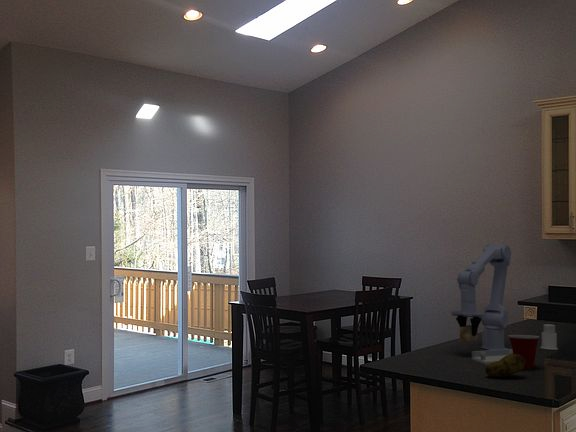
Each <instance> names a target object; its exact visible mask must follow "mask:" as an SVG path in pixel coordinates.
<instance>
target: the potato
mask: <svg viewBox="0 0 576 432" xmlns="http://www.w3.org/2000/svg"><path fill="white" fill-rule="evenodd" d="M525 363H526V361H525V359H524V358H523V357H522V356H521V355H518V354H510V355H507V356H505V357H503V358H502V359H500V360H499V361H496V362H493V363H491V364H488V365H486V366H485V374H486V375H487V376H488V377H490V378H506V377H510V376H512V375H515V374H518V373H520V372H524V371H525V370H524V367H525Z"/></svg>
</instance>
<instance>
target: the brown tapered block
mask: <svg viewBox="0 0 576 432" xmlns="http://www.w3.org/2000/svg"><path fill="white" fill-rule="evenodd" d="M478 329H479V328H478ZM478 329H477V334H476V336H472V325H471V324H468V325H467V324H466V326H463V327H460V326H459V342H464V343H471V342H474V341H477V340H479V338H478V337H479V336H478V335H479V331H478Z"/></svg>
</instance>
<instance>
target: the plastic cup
mask: <svg viewBox="0 0 576 432" xmlns="http://www.w3.org/2000/svg"><path fill="white" fill-rule="evenodd" d="M507 338H509V341H510V346H511V349H512V351H513V354H518V355H521V356H522V357H523V358H524V359H525V361H526V363H525V367H524V371H527V370H529V371H530V370H534V367H535V359H536V353H537V348H538V343H539V339H540V338H541V336H538V335H529V334H526V335H525V334H508V335H507Z"/></svg>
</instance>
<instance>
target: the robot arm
mask: <svg viewBox="0 0 576 432" xmlns="http://www.w3.org/2000/svg"><path fill="white" fill-rule="evenodd" d="M511 258H512V250H511V248H510V246H509V245H508V244H486V245H485V246H484V247H483V250H482V254H481V255H480V257H479V258H478V259H477V260H472V261H471V263H470V264H469V265H468V267H466V269H465V270H461V271H460V272H459V273H458V274H457V278H456V279H457V280H456V281H457V284H458V289H459V290H460V309H461V310H451V312H450V316H451V317H455V320H456V321H457V324H458V325H459V328H460V327H463V326H467V321H468V318H469V320H470V325H472V336H476V334H477V329H479V326H480V323H481V324H482V326H484V329H483V330H482V335H481V337H482V346H480V348H481V349H485V350H501V349H508V348H507V347H505V329H506V328H507V326H508V325H509V311H508V310H507V308H505V307H504V306H503V304H504V296H505V290H506V289H505V288H506V282H507V281H506V280H507V276H508V275H507V273H508V267H509V266H511V265H510V264H511ZM488 264H489V265H490V266H493V267H494V269H493V278H492V283H491V284H492V285H491V292H490V299H489V304H487V305H486V306H485V307H483V311H482V312H480V311H477V306H476V305H477V303H476V302H477V299H476V285H478V283H479V279H480V276H481V275H483V273H484V271H485V269H486V267H485V266H487V265H488Z"/></svg>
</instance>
